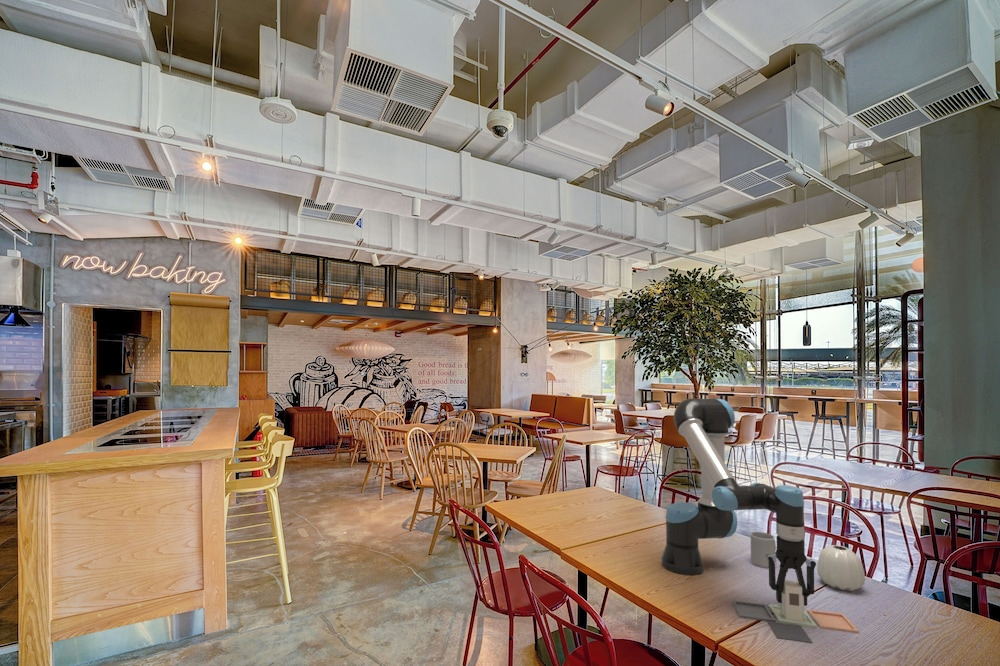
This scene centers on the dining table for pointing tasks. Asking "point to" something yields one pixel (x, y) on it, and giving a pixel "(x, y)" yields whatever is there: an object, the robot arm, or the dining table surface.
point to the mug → (762, 548)
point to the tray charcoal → (753, 611)
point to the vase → (840, 568)
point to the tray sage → (806, 620)
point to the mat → (789, 632)
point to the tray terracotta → (832, 621)
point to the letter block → (793, 600)
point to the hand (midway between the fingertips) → (791, 614)
